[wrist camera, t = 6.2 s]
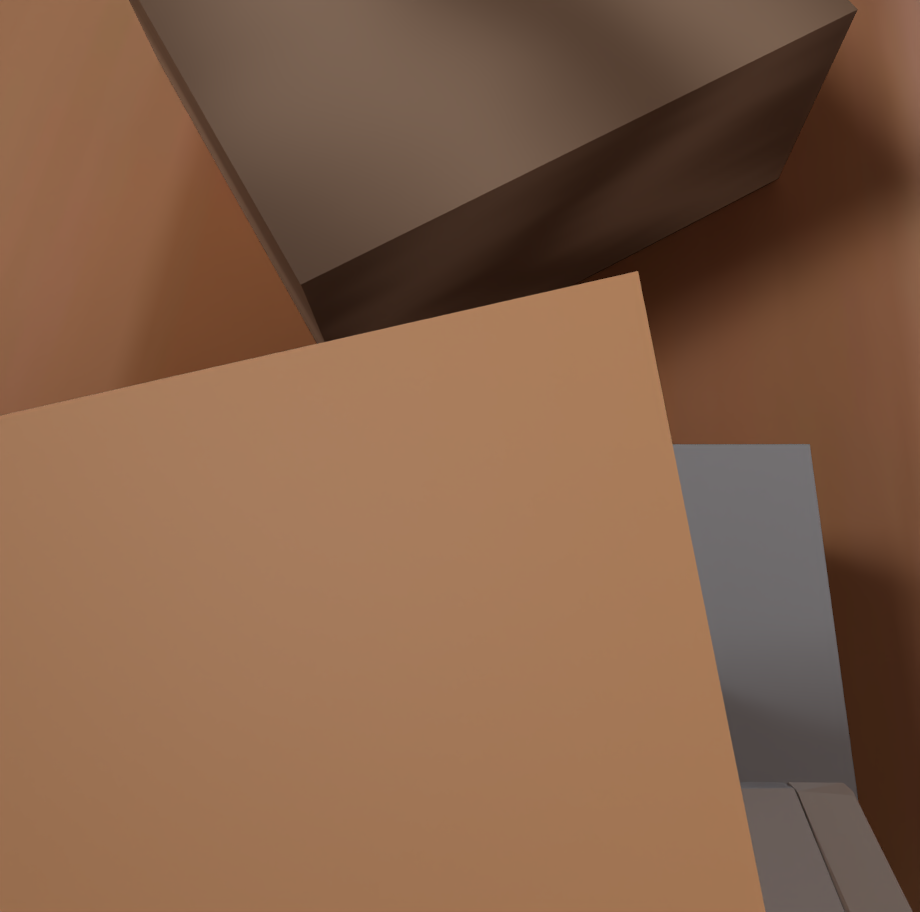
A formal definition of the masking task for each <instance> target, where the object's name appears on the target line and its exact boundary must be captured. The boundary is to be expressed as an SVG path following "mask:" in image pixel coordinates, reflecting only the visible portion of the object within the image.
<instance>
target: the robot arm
mask: <svg viewBox="0 0 920 912" xmlns="http://www.w3.org/2000/svg"><path fill="white" fill-rule="evenodd" d="M740 786H741V791H742V796H743V801H744V806H745V811H746V816H747V821H748V826H749V831H750V836H751V841H752V846H753V851H754V856H755V861H756V866H757V871H758V876H759V881H760V886H761V892H762V897H763V902H764V907H765V912H913V911H912V909H911V907H910V905H909V903H908V901H907V899H906V897H905V895H904V893H903V891H902V889H901V887H900V885H899V883H898V881H897V879H896V877H895V875H894V873H893V871H892V869H891V867H890V865H889V863H888V861H887V859H886V857H885V855H884V853H883V851H882V849H881V847H880V845H879V843H878V841H877V839H876V837H875V835H874V833H873V831H872V829H871V827H870V825H869V823H868V821H867V819H866V817H865V815H864V813H863V811H862V809H861V806H860V804H859V802H858V800H857V798H856V796H855V794H854V792H853V791H852V790H851V789H850V788H849V787H848V786H846V785H845V784H844V783H820V782H788V783H787V784H785V783H783V782H740Z"/></svg>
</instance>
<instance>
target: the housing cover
mask: <svg viewBox="0 0 920 912" xmlns="http://www.w3.org/2000/svg"><path fill="white" fill-rule="evenodd" d="M0 912H765V907H764V902H763V897H762V892H761V886H760V881H759V876H758V871H757V866H756V861H755V856H754V851H753V846H752V841H751V836H750V831H749V826H748V821H747V816H746V811H745V806H744V801H743V796H742V791H741V786H740V781H739V776H738V771H737V766H736V761H735V756H734V751H733V746H732V741H731V736H730V731H729V726H728V721H727V716H726V711H725V706H724V701H723V696H722V691H721V686H720V681H719V675H718V670H717V665H716V660H715V655H714V650H713V645H712V640H711V635H710V630H709V625H708V620H707V615H706V610H705V605H704V600H703V595H702V590H701V585H700V580H699V575H698V570H697V565H696V560H695V555H694V550H693V545H692V540H691V535H690V530H689V525H688V520H687V515H686V510H685V505H684V500H683V495H682V490H681V485H680V480H679V475H678V469H677V464H676V459H675V454H674V449H673V444H672V439H671V434H670V429H669V424H668V419H667V414H666V409H665V404H664V399H663V394H662V389H661V384H660V379H659V374H658V369H657V364H656V359H655V354H654V349H653V344H652V339H651V334H650V329H649V324H648V319H647V314H646V309H645V304H644V299H643V294H642V289H641V284H640V279H639V274H638V271H636V272H631V273H627V274H623V275H618V276H614V277H609V278H605V279H601V280H596V281H592V282H587V283H583V284H579V285H574V286H570V287H565V288H561V289H557V290H552V291H548V292H543V293H539V294H534V295H530V296H526V297H521V298H517V299H512V300H508V301H504V302H499V303H495V304H490V305H486V306H482V307H477V308H473V309H468V310H464V311H460V312H455V313H451V314H446V315H442V316H437V317H433V318H429V319H424V320H420V321H415V322H411V323H407V324H402V325H398V326H393V327H389V328H385V329H380V330H376V331H371V332H367V333H363V334H358V335H354V336H349V337H345V338H340V339H336V340H332V341H327V342H323V343H318V344H314V345H310V346H305V347H301V348H296V349H292V350H288V351H283V352H279V353H274V354H270V355H266V356H261V357H257V358H252V359H248V360H244V361H239V362H235V363H230V364H226V365H221V366H217V367H213V368H208V369H204V370H199V371H195V372H191V373H186V374H182V375H177V376H173V377H169V378H164V379H160V380H155V381H151V382H147V383H142V384H138V385H133V386H129V387H124V388H120V389H116V390H111V391H107V392H102V393H98V394H94V395H89V396H85V397H80V398H76V399H72V400H67V401H63V402H58V403H54V404H50V405H45V406H41V407H36V408H32V409H27V410H23V411H19V412H14V413H10V414H5V415H1V416H0Z"/></svg>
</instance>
